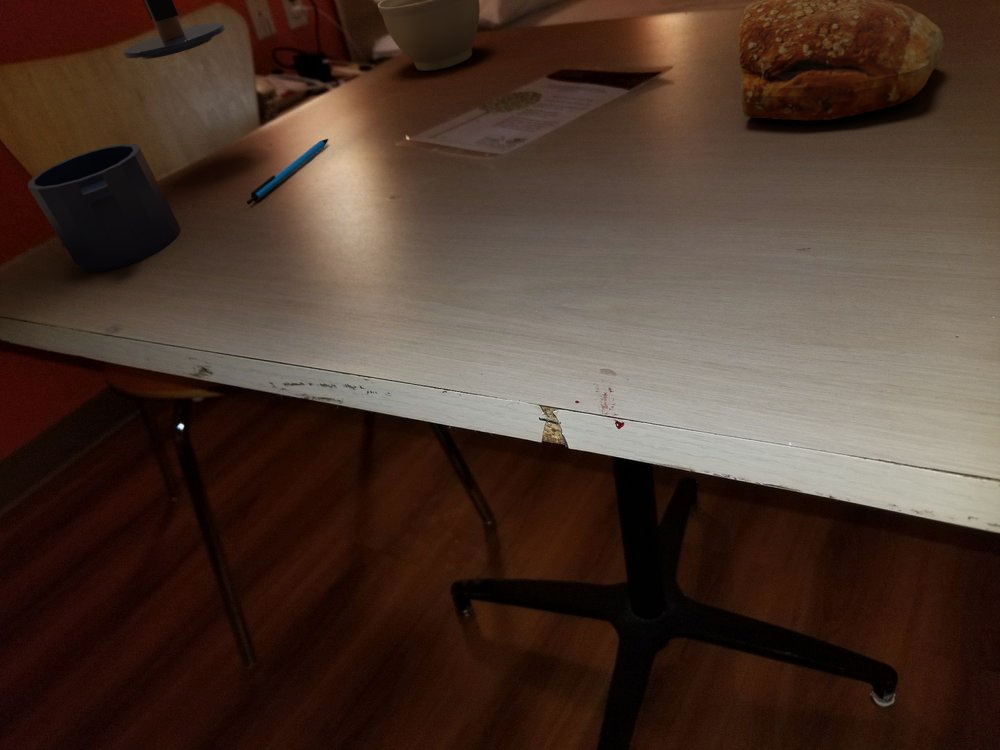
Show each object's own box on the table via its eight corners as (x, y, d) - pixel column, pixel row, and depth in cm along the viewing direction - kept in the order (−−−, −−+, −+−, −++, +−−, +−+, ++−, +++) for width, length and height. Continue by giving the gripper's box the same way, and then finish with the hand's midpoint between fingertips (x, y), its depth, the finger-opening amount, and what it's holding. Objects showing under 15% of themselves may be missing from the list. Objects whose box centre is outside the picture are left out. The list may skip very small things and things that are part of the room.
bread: (765, 66, 86) (766, -27, 80) (943, 56, 77) (959, -51, 71) (716, 133, 73) (713, 27, 67) (924, 130, 64) (942, 7, 58)
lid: (134, 68, 84) (85, -36, 77) (121, 57, 93) (77, -36, 87) (237, 37, 88) (198, -65, 81) (215, 29, 97) (179, -62, 91)
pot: (83, 292, 73) (29, 205, 68) (72, 243, 86) (26, 167, 80) (193, 248, 77) (150, 162, 71) (167, 207, 90) (128, 132, 84)
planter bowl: (394, 64, 127) (376, -4, 121) (483, 41, 127) (469, -28, 121) (399, 86, 114) (378, 12, 108) (498, 60, 114) (483, -16, 108)
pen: (246, 206, 84) (242, 197, 83) (326, 142, 97) (323, 134, 97) (252, 206, 83) (248, 197, 83) (332, 142, 97) (329, 133, 96)
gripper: (103, -253, 70) (208, 12, 83) (89, -222, 82) (182, 5, 95) (21, -239, 67) (142, 31, 81) (19, -209, 79) (125, 22, 93)
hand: (164, 16), depth 88 cm, fingers closed on lid, 3 cm apart
